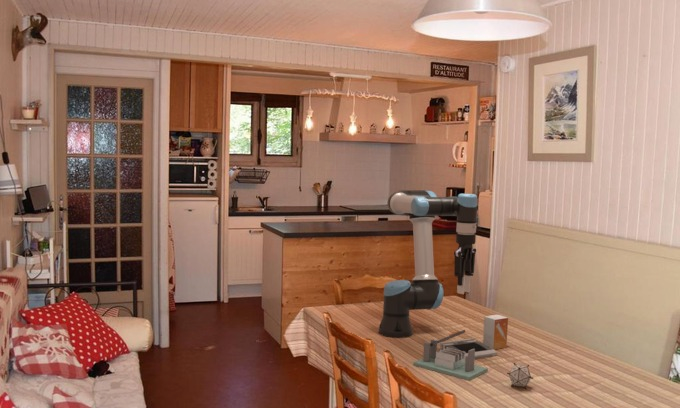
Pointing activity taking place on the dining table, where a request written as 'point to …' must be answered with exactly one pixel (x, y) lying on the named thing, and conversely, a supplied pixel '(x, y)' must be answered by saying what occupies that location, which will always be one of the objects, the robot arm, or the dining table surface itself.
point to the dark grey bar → (448, 337)
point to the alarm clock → (470, 347)
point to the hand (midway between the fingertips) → (463, 292)
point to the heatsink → (450, 358)
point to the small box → (495, 331)
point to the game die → (520, 375)
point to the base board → (463, 372)
